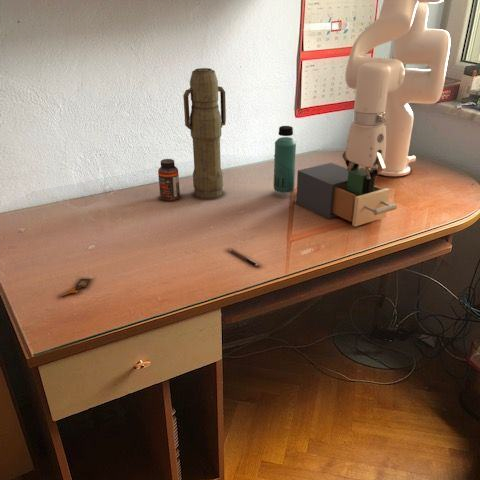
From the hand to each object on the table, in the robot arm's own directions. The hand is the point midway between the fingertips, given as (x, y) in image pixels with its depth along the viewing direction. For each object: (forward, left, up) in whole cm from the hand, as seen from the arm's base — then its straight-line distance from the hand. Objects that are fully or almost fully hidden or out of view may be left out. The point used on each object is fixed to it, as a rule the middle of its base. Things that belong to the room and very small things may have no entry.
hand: (360, 188), depth 142 cm
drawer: (0, +1, -8) cm, 8 cm away
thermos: (+24, -40, -9) cm, 47 cm away
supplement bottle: (+35, -44, -9) cm, 56 cm away
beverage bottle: (+5, -27, -9) cm, 28 cm away
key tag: (+77, -7, -9) cm, 78 cm away
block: (0, 0, 0) cm, 0 cm away
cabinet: (0, -12, -8) cm, 14 cm away
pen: (+39, +2, -9) cm, 40 cm away
